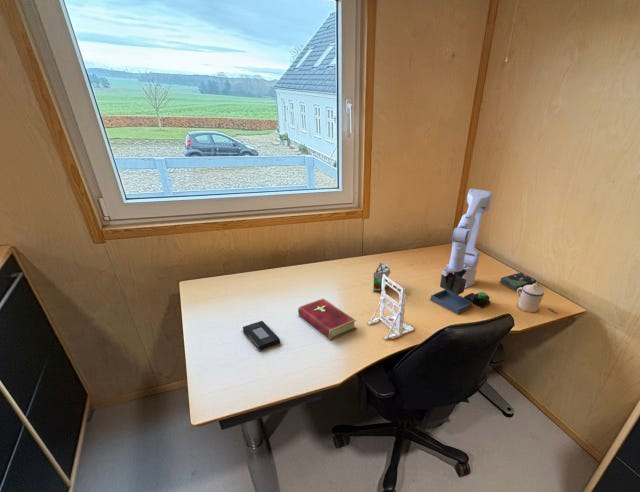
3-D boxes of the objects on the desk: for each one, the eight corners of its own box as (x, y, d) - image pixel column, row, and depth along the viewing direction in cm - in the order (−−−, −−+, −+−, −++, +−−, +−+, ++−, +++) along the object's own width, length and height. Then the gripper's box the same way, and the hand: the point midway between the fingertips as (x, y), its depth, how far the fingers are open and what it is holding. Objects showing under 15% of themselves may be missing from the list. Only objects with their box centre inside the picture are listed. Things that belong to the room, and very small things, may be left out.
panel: (471, 295, 166) (473, 288, 164) (490, 304, 160) (492, 297, 158) (463, 299, 162) (464, 292, 160) (482, 308, 156) (484, 301, 154)
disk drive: (518, 277, 187) (499, 282, 179) (520, 272, 185) (500, 277, 178) (535, 285, 180) (516, 291, 172) (537, 280, 178) (517, 286, 171)
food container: (386, 295, 161) (387, 275, 156) (372, 293, 162) (373, 273, 157) (391, 283, 171) (392, 263, 166) (378, 281, 172) (379, 262, 167)
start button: (480, 294, 161) (481, 291, 160) (487, 297, 158) (488, 294, 157) (476, 296, 158) (476, 293, 157) (483, 300, 156) (483, 296, 155)
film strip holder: (417, 331, 139) (423, 284, 128) (387, 341, 132) (391, 293, 121) (395, 313, 148) (399, 269, 137) (366, 322, 141) (368, 276, 131)
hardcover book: (329, 340, 130) (329, 330, 128) (298, 315, 142) (297, 306, 140) (355, 328, 137) (355, 319, 135) (323, 306, 150) (323, 297, 147)
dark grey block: (446, 283, 159) (448, 271, 156) (463, 292, 154) (466, 279, 150) (439, 286, 157) (441, 274, 153) (457, 295, 151) (459, 282, 148)
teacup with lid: (542, 309, 159) (551, 286, 152) (529, 314, 154) (537, 290, 148) (521, 298, 167) (527, 275, 161) (507, 302, 162) (514, 279, 156)
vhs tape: (259, 351, 122) (259, 346, 121) (243, 331, 131) (242, 326, 130) (280, 343, 127) (279, 338, 126) (262, 325, 136) (262, 320, 134)
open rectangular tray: (444, 293, 166) (445, 289, 164) (472, 307, 157) (473, 302, 155) (430, 300, 160) (431, 295, 158) (457, 314, 151) (458, 309, 149)
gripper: (460, 250, 154) (455, 278, 161) (438, 257, 145) (434, 287, 152) (474, 255, 150) (468, 284, 157) (452, 263, 141) (447, 294, 148)
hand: (452, 286), depth 154 cm, fingers closed on dark grey block, 4 cm apart
